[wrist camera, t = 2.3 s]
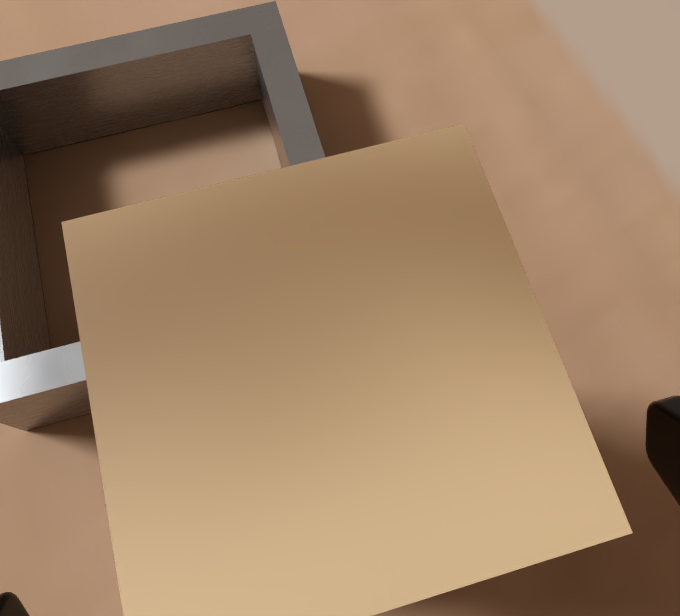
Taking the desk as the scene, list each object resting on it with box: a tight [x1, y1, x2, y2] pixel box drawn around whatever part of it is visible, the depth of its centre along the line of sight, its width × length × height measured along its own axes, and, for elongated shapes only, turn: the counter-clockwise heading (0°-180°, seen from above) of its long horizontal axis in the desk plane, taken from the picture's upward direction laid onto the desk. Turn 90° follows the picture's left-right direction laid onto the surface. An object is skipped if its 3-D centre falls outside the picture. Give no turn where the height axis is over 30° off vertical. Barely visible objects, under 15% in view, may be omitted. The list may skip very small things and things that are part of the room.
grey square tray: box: [0, 1, 325, 431], centre depth 18 cm, size 10×10×3 cm
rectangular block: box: [61, 124, 633, 616], centre depth 12 cm, size 4×4×12 cm
